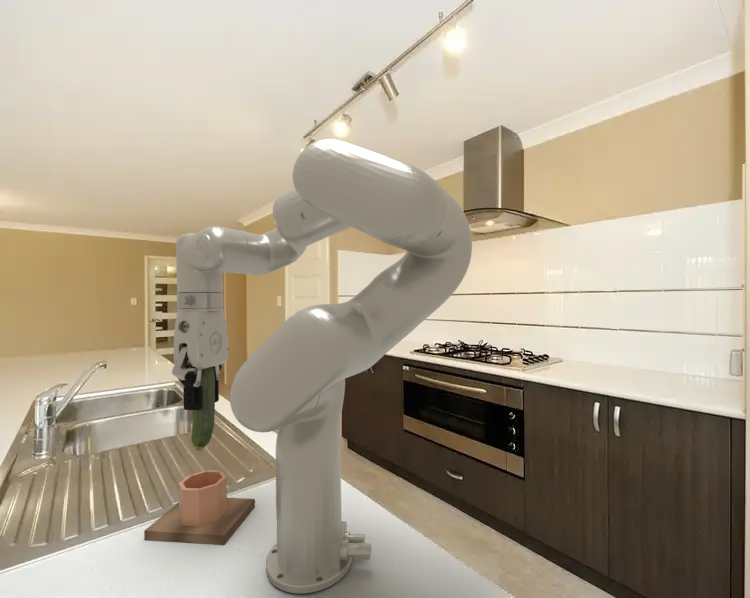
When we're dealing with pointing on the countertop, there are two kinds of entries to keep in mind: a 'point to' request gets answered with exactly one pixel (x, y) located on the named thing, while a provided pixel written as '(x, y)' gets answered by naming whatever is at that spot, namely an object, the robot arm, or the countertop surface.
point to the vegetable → (204, 410)
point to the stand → (205, 534)
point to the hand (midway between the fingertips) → (202, 404)
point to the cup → (202, 498)
